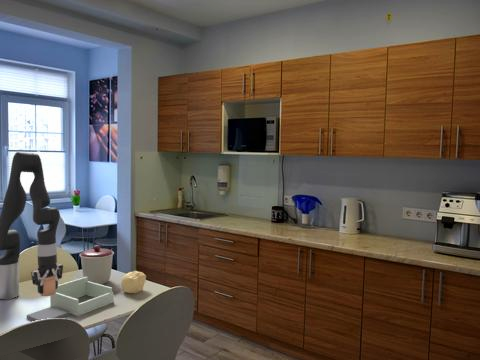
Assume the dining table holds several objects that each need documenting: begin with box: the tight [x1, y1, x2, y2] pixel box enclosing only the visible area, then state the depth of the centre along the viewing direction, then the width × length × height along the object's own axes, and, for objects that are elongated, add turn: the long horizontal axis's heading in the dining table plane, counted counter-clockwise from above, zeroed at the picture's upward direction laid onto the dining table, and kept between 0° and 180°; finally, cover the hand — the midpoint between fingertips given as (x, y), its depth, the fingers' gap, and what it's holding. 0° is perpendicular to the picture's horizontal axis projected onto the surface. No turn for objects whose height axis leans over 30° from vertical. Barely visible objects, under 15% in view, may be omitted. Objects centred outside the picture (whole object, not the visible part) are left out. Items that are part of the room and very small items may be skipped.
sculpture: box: [121, 270, 147, 294], centre depth 210 cm, size 12×12×11 cm
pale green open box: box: [49, 277, 114, 317], centre depth 192 cm, size 20×20×9 cm
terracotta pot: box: [40, 275, 56, 297], centre depth 176 cm, size 6×6×8 cm
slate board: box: [26, 306, 69, 322], centre depth 177 cm, size 12×12×2 cm
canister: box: [79, 244, 115, 285], centre depth 223 cm, size 18×18×21 cm
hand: (47, 291), depth 176 cm, fingers closed on terracotta pot, 6 cm apart
